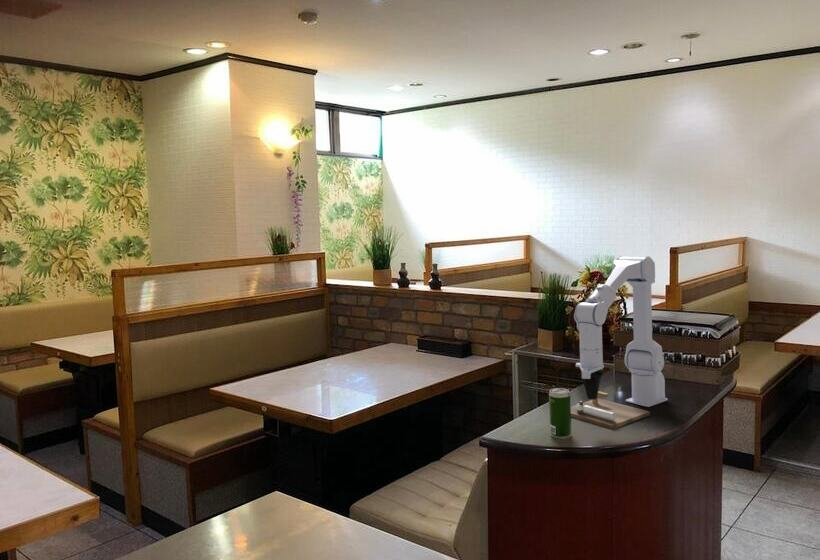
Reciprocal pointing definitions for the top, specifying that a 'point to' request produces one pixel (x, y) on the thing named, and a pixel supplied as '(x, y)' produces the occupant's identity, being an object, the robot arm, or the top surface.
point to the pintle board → (621, 411)
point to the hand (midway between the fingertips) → (592, 398)
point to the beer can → (560, 413)
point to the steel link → (595, 411)
